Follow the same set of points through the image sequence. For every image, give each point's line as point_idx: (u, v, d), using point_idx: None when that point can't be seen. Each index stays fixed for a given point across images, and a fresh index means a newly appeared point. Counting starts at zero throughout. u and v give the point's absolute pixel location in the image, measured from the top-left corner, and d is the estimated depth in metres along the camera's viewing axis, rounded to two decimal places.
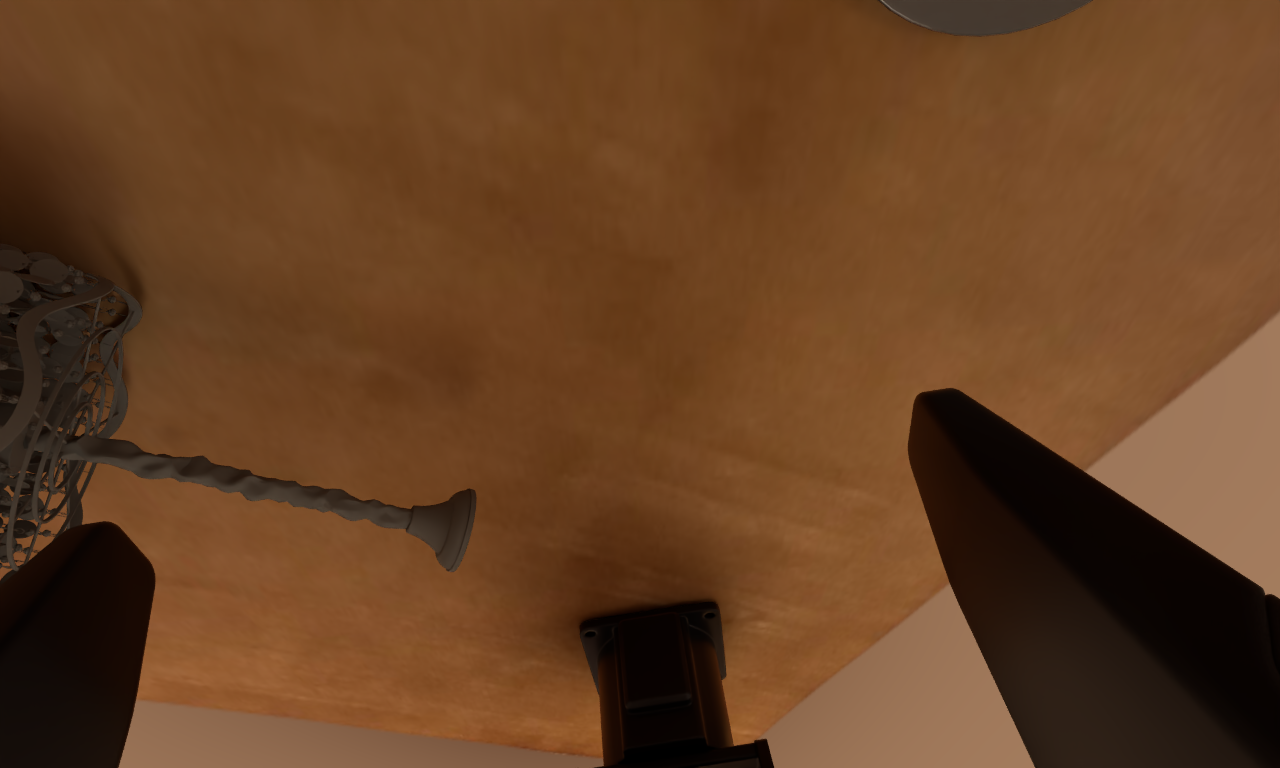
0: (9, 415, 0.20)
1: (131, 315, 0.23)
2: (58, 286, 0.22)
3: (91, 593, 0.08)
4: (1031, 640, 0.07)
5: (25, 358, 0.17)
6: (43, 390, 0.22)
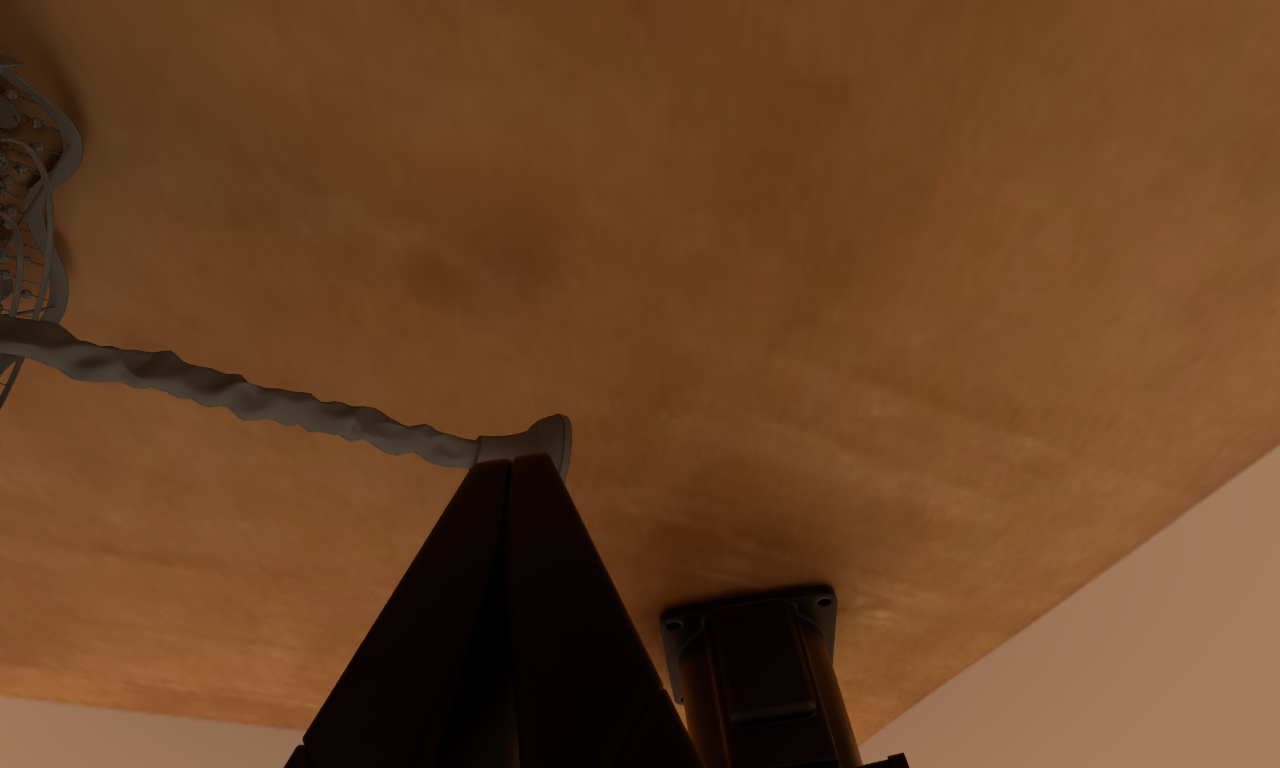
0: None
1: (66, 150, 0.16)
2: None
3: None
4: None
5: None
6: None
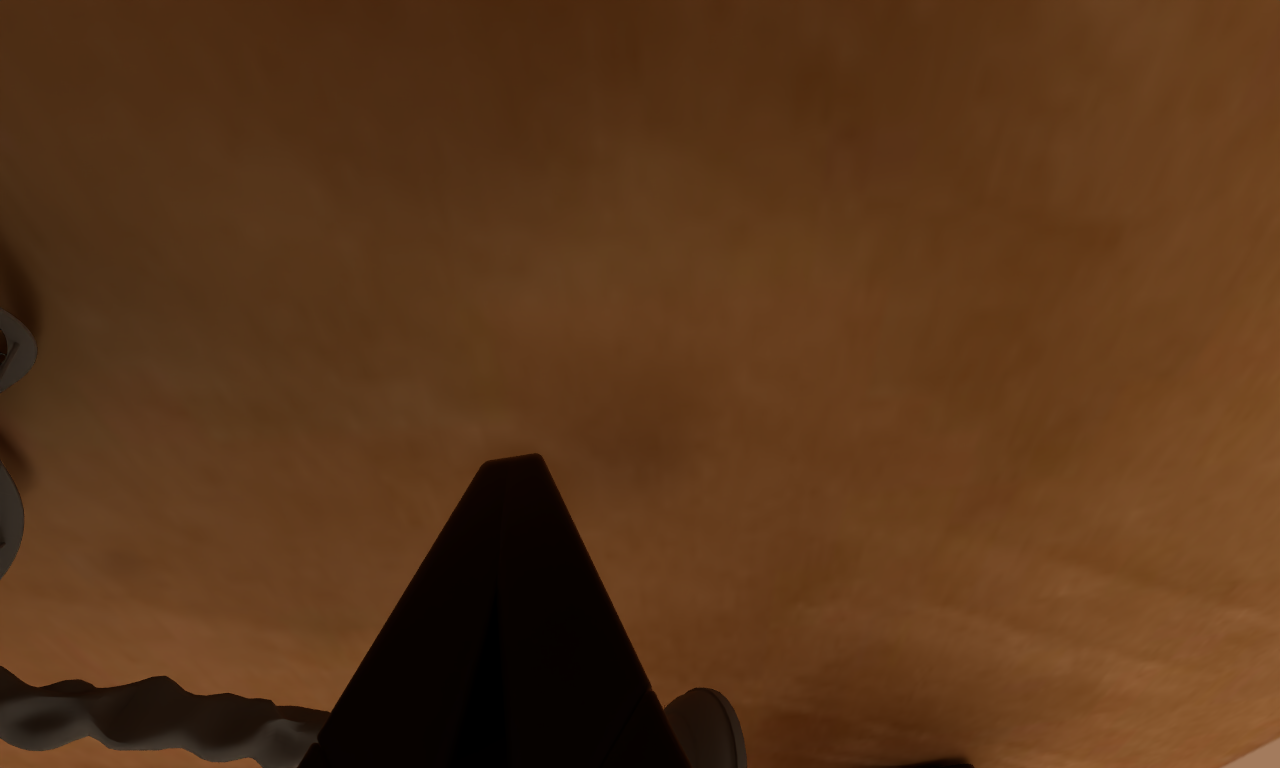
0: None
1: (12, 352, 0.11)
2: None
3: None
4: None
5: None
6: None
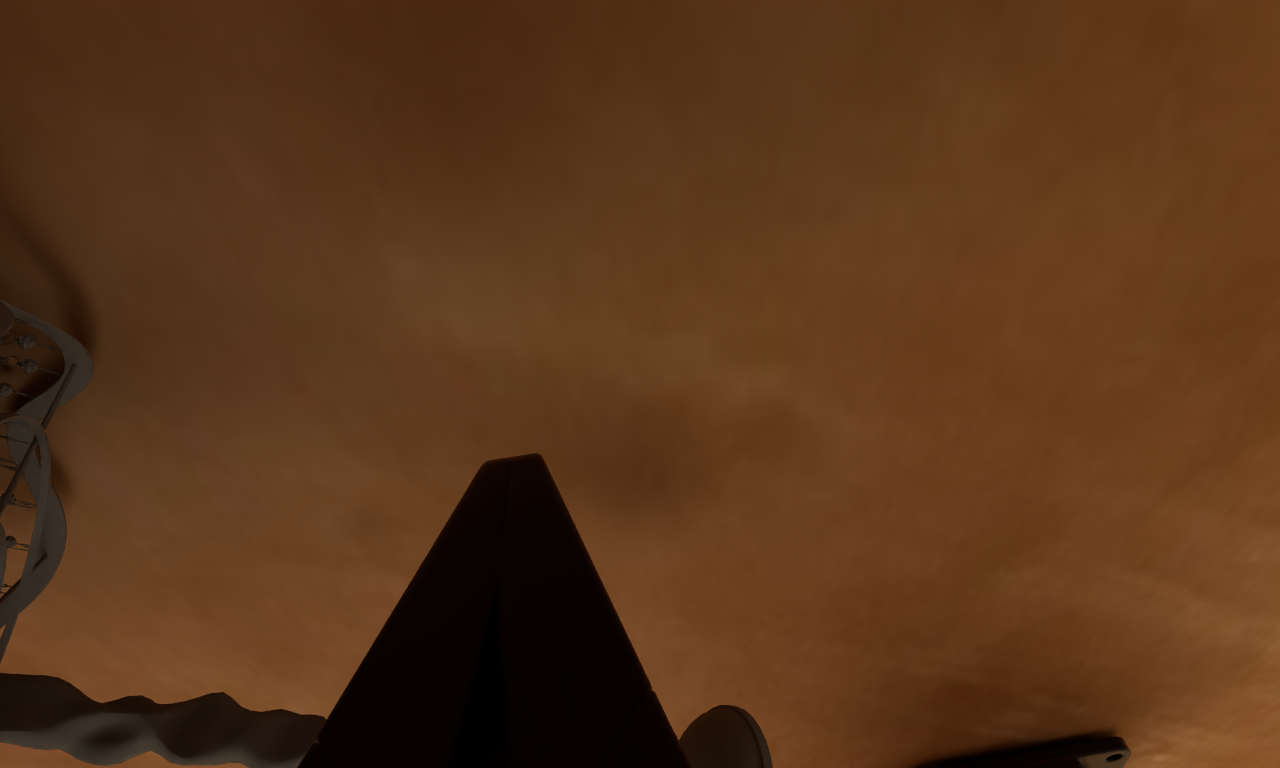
0: None
1: (70, 373, 0.11)
2: None
3: None
4: None
5: None
6: None
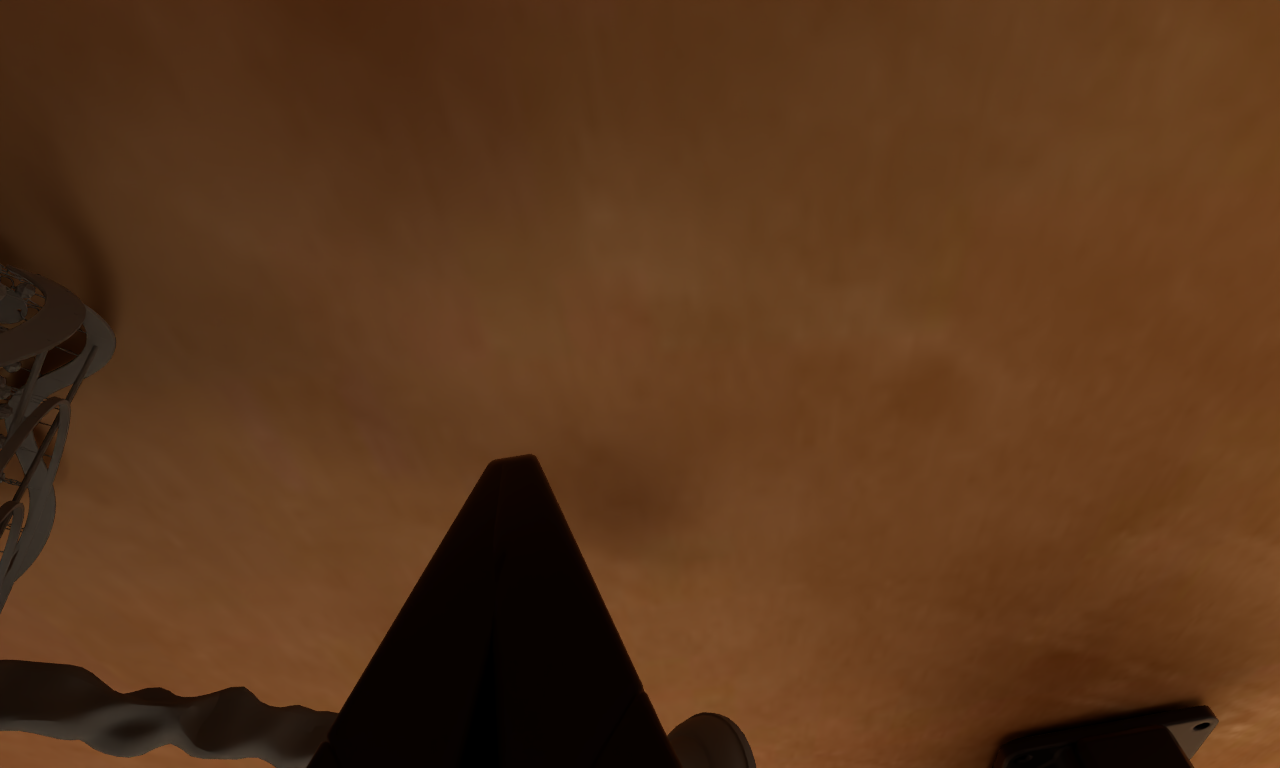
0: None
1: (91, 355, 0.11)
2: None
3: None
4: None
5: None
6: None
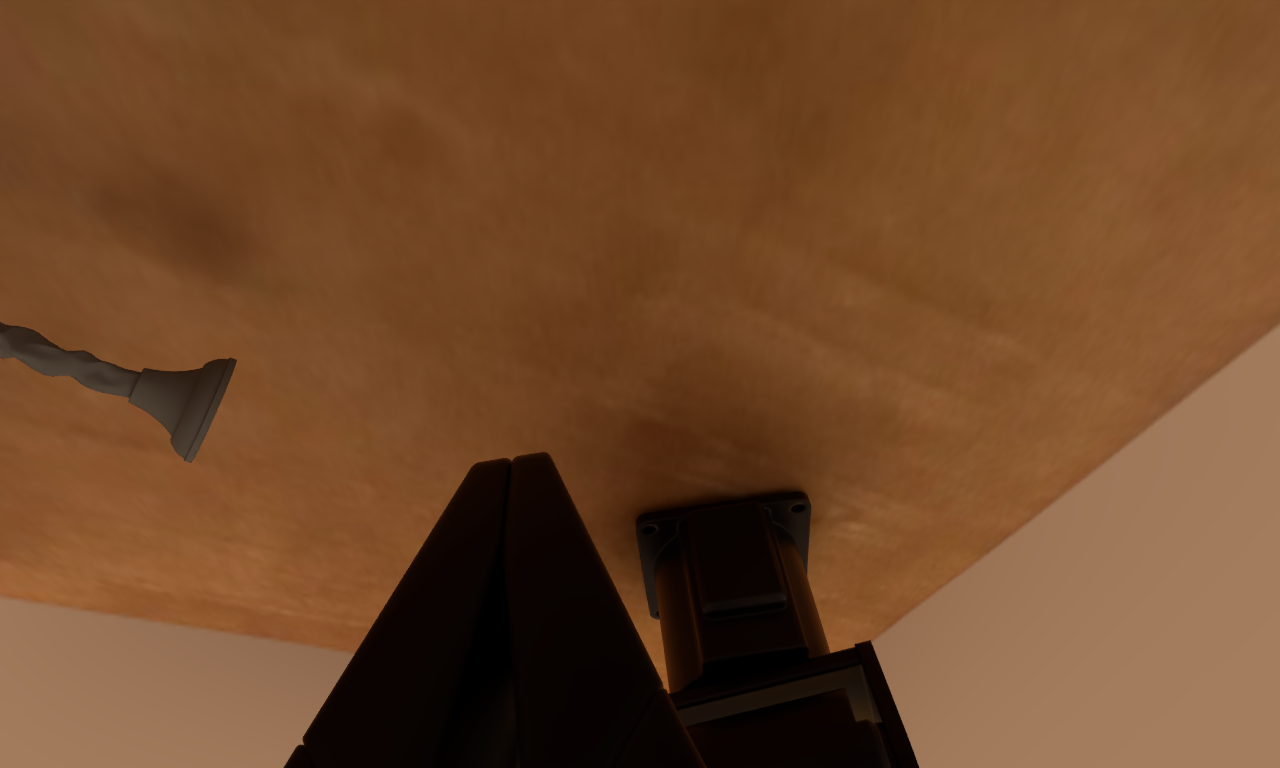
0: None
1: None
2: None
3: None
4: None
5: None
6: None
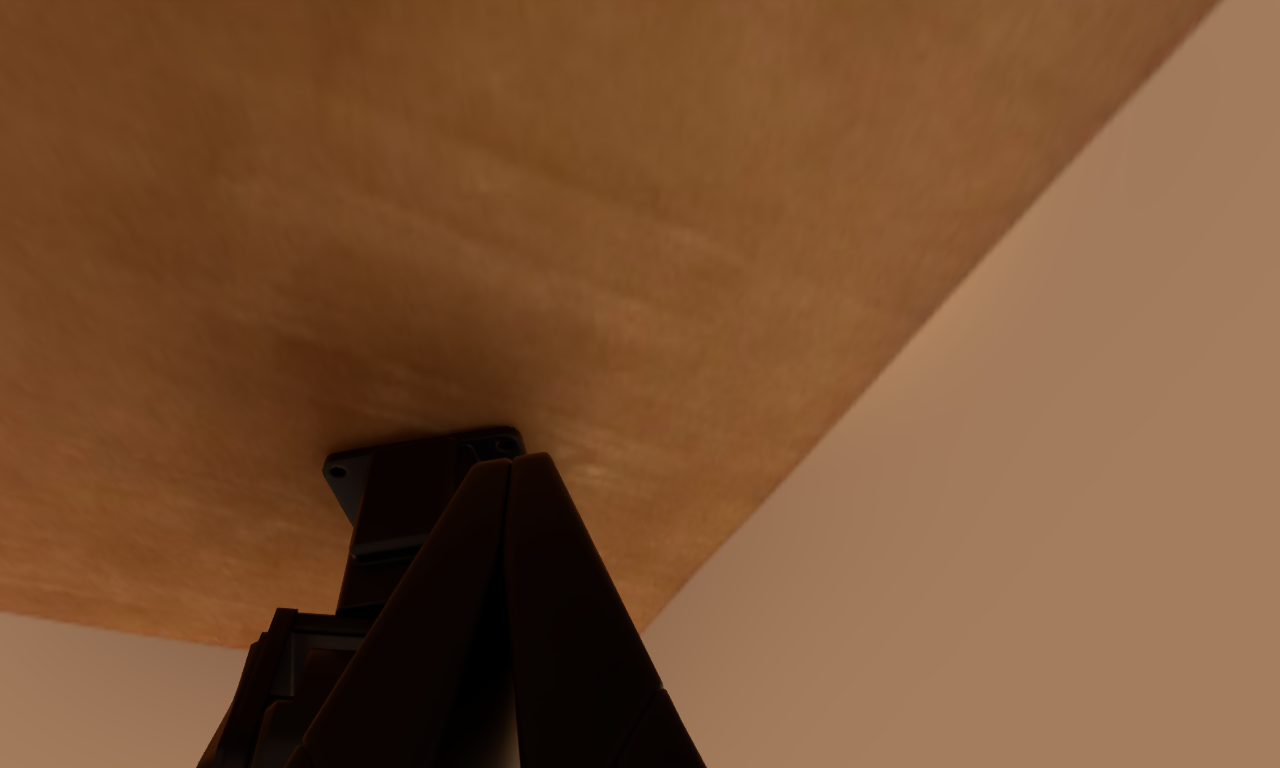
0: None
1: None
2: None
3: None
4: None
5: None
6: None
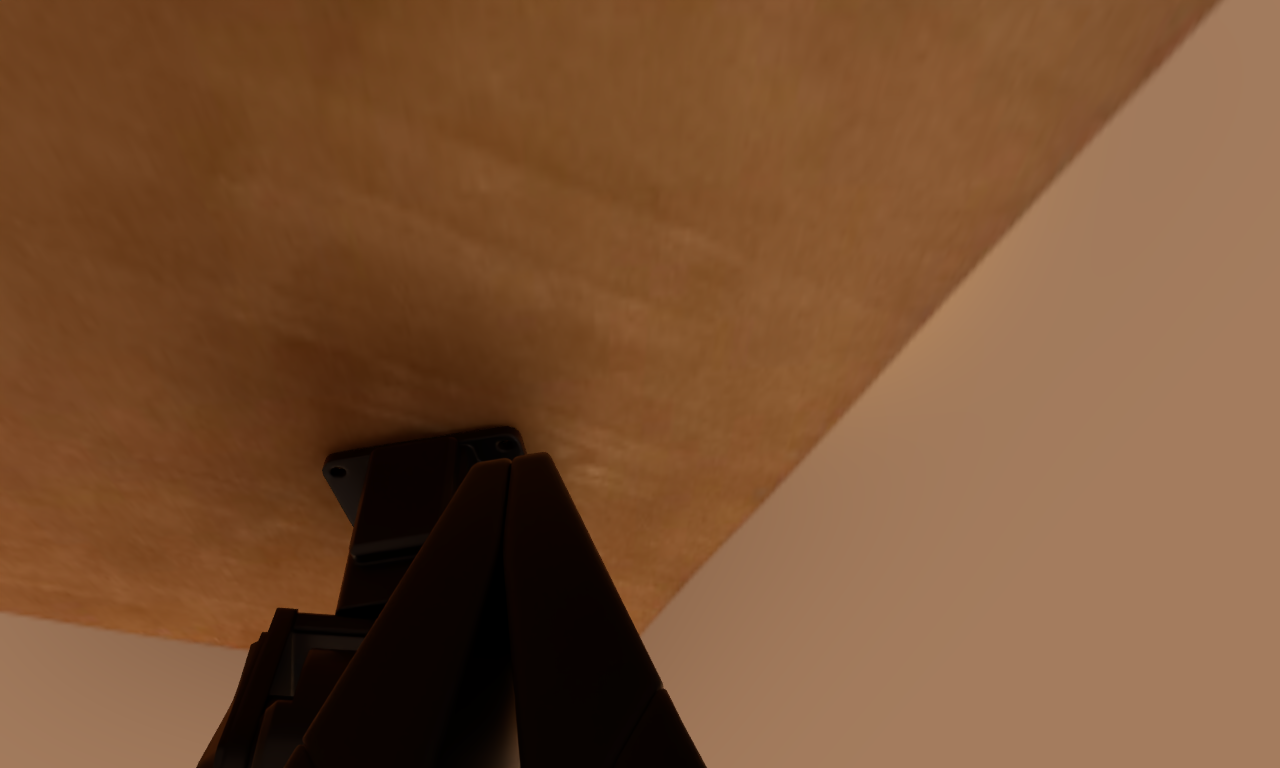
0: None
1: None
2: None
3: None
4: None
5: None
6: None
